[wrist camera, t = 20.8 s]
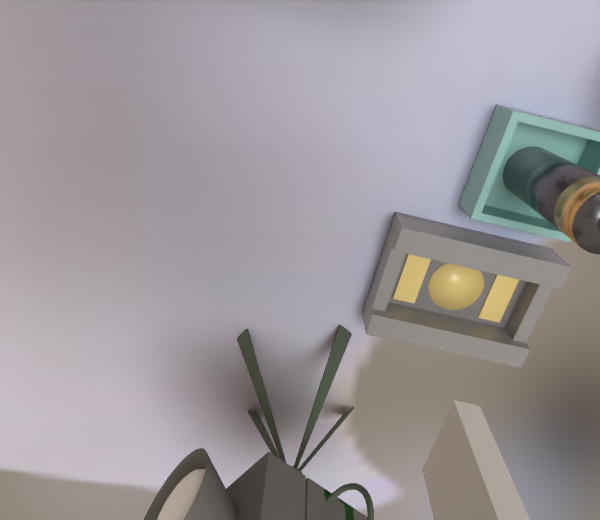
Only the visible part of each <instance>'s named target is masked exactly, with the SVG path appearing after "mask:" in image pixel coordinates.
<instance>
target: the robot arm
mask: <svg viewBox="0 0 600 520" xmlns="http://www.w3.org/2000/svg"><path fill="white" fill-rule="evenodd" d="M422 471H423V474H424V478H425V483H426V487H427V491H428V495H429V500H430V504H431V508H432V512H433V516H434V520H529V518H528V515H527V513H526V511H525V508H524V506H523V504H522V502H521V500H520V497H519V495H518V492H517V490H516V488H515V486H514V484H513V481H512V479H511V477H510V474H509V472H508V470H507V467H506V465H505V464H504V461H503V458H502V457H501V454H500V452H499V449H498V447H497V445H496V442H495V440H494V438H493V435H492V433H491V431H490V429H489V427H488V424H487V422H486V420H485V417H484V415H483V413H482V410H481V408H480V406H478V405H473V404H468V403H463V402H459V401H453V404H452V406H451V408H450V410H449V412H448V414H447V416H446V419H445V421H444V423H443V425H442V428H441V430H440V432H439V434H438V436H437V438H436V441H435V443H434V445H433V447H432V449H431V452H430V454H429V456H428V458H427V460H426V462H425V465H424V467H423V469H422Z"/></svg>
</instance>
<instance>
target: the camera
mask: <svg viewBox="0 0 600 520" xmlns="http://www.w3.org/2000/svg"><path fill="white" fill-rule="evenodd" d="M351 335H352V334H351V333H350V332H349V331H347V330H346V329H345V328H344V327H342V326H341V325H339V327H338V330H337V334H336V337H335V340H334V343H333V346H332V349H331V352H330V355H329V358H328V362H327V365H326V368H325V371H324V374H323V377H322V380H321V383H320V387H319V390H318V393H317V396H316V399H315V402H314V405H313V408H312V412H311V415H310V418H309V421H308V424H307V427H306V430H305V433H304V436H303V440H302V443H301V446H300V449H299V452H298V455H297V458H296V461H295V465H294V466H290V465H288V464H287V463H286V460H285V457H284V453H283V450H282V447H281V443H280V440H279V436H278V433H277V429H276V426H275V422H274V419H273V415H272V412H271V408H270V405H269V401H268V398H267V394H266V391H265V387H264V384H263V380H262V377H261V373H260V370H259V366H258V363H257V359H256V356H255V352H254V349H253V346H252V342H251V339H250V335H249V332H248V329H246V330H245V331H244V332H243V333H242V334H241V335H240V336H239V337H238V338H237V340H238V343H239V346H240V349H241V351H242V354H243V357H244V360H245V363H246V365H247V368H248V371H249V374H250V376H251V379H252V382H253V385H254V387H255V390H256V393H257V396H258V398H259V401H260V404H261V407H262V409H263V412H264V415H265V418H266V420H267V423H268V426H269V429H270V432H271V434H272V437H273V440H274V443H275V445H276V448H277V451H278V453H277V451H276V449H275V447H274V445H273V443H272V441H271V439H270V437H269V435H268V433H267V431H266V429H265V427H264V425H263V423H262V421H261V419H260V417H259V416H257V415H256V414H254V413H253V412H251V411H250V410H249V411H248V413H249V415H250V417H251V418H252V420H253V422H254V423H255V425H256V427H257V429H258V430H259V432H260V434H261V435H262V437H263V439H264V441H265V442H266V444H267V446H268V447H269V449H270V451H271V453H270V452H268V453H267V454H266V455H264V456H263V457H262V458H261V459H260V460H259V461H258V462H256V463H255V464H254V465H253V466H252V467H251V468H250V469H248V470H247V471H246V472H245V473H244V474H243V475H241V476H240V477H239V478H238V479H237V480H236V481H235V482H233V483H232V484H231V485H230V486H229V487H228V488H227V489H225V487H224V485H223V483H222V481H221V479H220V477H219V475H218V473H217V471H216V469H215V468H214V466H213V464H212V462H211V460H210V458H209V456H208V454H207V452H206V451H205V450H204V449H202V448H200V449H197V450H195V451H193V452H192V453H190V454H189V455H188V456H187V457H185V458H184V459H183V461H182V462H181V463H180V464H179V465H178V466H177V467H176V468H175V470H174V471H173V472H172V473H171V475H170V476H169V477H168V479H167V480H166V481H165V483H164V484H163V486H162V488H161V489H160V491H159V492H158V494H157V496H156V497H155V499H154V501H153V502H152V504H151V506H150V508H149V510H148V512H147V514H146V516H145V518H144V520H374V509H373V503H372V500H371V497H370V495H369V493H368V491H367V490H366V489H365V488H364V487H363V486H361V485H359V484H356V483H350V484H346V485H343V486H341V487H340V488H338V489H337V490H336V491H334V492H333V493H330V492H329V491H327V490H326V489H324V488H323V487H321V486H320V485H318V484H317V483H315V482H314V481H312V480H311V479H309V478H307V479H305V475H303V474H302V472H301V470H302V469H303V468H304V467H305V466H306V464H307V463H308V462H309V461H310V460H311V459H312V457H313V456H314V455H315V454H316V453H317V451H318V450H319V449H320V448H321V447H322V446H323V444H324V443H325V442H326V441H327V440H328V439H329V437H330V436H331V435H332V434H333V433H334V431H335V430H336V429H337V428H338V427H339V426H340V424H341V423H342V422H343V421H344V420H345V418H346V417H347V416H348V415H349V414H350V413H351V411H352V410H353V409H354V407H352V408H351V409H349V410H348V411H347V412H346V413H345V414H343V416H342V417H341V418H340V419H339V420H338V422H337V423H336V424H335V425H334V426H333V428H332V429H331V430H330V431H329V433H328V434H327V435H326V436H325V437H324V439H323V440H322V441H321V442H320V443H319V445H318V446H317V447H316V448H315V450H314V451H313V452H312V453H311V454H310V456H309V457H308V458H307V459H306V460H305V462H304V463H303V464H302V465H301V467H300V468H299V469H298V468H297V467H298V465H299V462H300V460H301V457H302V455H303V453H304V450H305V448H306V445H307V443H308V440H309V438H310V435H311V433H312V430H313V428H314V425H315V423H316V421H317V418H318V416H319V413H320V411H321V408H322V406H323V403H324V401H325V398H326V396H327V394H328V391H329V389H330V386H331V384H332V381H333V379H334V376H335V374H336V371H337V369H338V367H339V364H340V362H341V359H342V357H343V354H344V352H345V349H346V347H347V344H348V342H349V339H350V337H351ZM278 454H279V455H278ZM279 456H280V457H279ZM352 489H354V490H358V491H359V492H361V493H362V495H363V496H364V498H365V500H366V504H367V511H368V517H366V516H365V515H363V514H362V513H360V512H359V511H357V510H356V509H354V508H353V507H351V506H350V505H348V504H347V503H345V502H344V501H342V500H341V499H339V498H338V497H337V496H339V495H340V494H341V493H343V492H345V491H347V490H352Z"/></svg>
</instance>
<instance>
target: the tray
mask: <svg viewBox="0 0 600 520" xmlns="http://www.w3.org/2000/svg"><path fill="white" fill-rule="evenodd" d="M530 146H537V147H541V148H543V149H545V150H548V151H550V152H552V153H554V154H556V155H558V156H560V157H562V158H564V159H566V160H568V161H570V162H573V163H575V164H577V165H579V166H581V167H583V168H585V169H587V170H589V171H591V172H593V173H596V174H598V175H600V131H598V130H595V129H591V128H587V127H583V126H579V125H575V124H571V123H567V122H563V121H559V120H555V119H551V118H547V117H543V116H539V115H535V114H531V113H527V112H523V111H519V110H515V109H511V108H507V107H503V106H499V105H496V108H495V110H494V113H493V116H492V118H491V121H490V123H489V126H488V129H487V131H486V134H485V136H484V139H483V142H482V144H481V147H480V150H479V152H478V155H477V157H476V160H475V163H474V165H473V168H472V171H471V173H470V176H469V178H468V181H467V184H466V186H465V189H464V191H463V194H462V197H461V199H460V202H459V205H460V207H461V208H462V209H463V210H464V211H465V212H466V214H467V215H468V216H469V217H470V218H471V219H475V220H479V221H483V222H487V223H492V224H496V225H500V226H504V227H509V228H513V229H517V230H521V231H526V232H530V233H534V234H538V235H542V236H547V237H551V238H555V239H559V240H564V241H568V242H571V241H572V240H571V239H570V238H568V237H567V236H566V235H565V234H563V233H562V232H561V231H560V230H559V229H558V228H556V227H555V226H554V225H552V224H551V223H550V222H549V221H547V220H546V219H545V218H544V217H542V216H541V215H540V214H538V213H537V212H536V211H535V210H533V209H532V208H531V207H530V206H528V205H527V204H526V203H524V202H523V201H522V200H521V199H519V198H518V197H517V196H516V195H514V194H513V193H512V192H511V191H509V190H508V189H507V187H506V186H505V184H504V181H503V170H504V166H505V164H506V162H507V161H508V159H509V158H510V157H511V156H512V155H513V154H514V153H515V152H517V151H518V150H520V149H522V148H525V147H530Z"/></svg>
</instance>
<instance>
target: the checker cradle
mask: <svg viewBox="0 0 600 520" xmlns="http://www.w3.org/2000/svg"><path fill="white" fill-rule="evenodd" d="M571 269H572V267H571V266H570V265H569V264H568V263H567V262H566V261H564V260H563V259H562V258H561V257H560V256H559V255H558V254H557V253H555V252H554V251H553V250H552V249H550V248H546V247H542V246H537V245H533V244H529V243H525V242H520V241H516V240H512V239H508V238H503V237H499V236H495V235H491V234H486V233H482V232H478V231H473V230H469V229H465V228H461V227H456V226H452V225H448V224H444V223H439V222H435V221H431V220H427V219H422V218H418V217H414V216H410V215H405V214H401V213H397V212H395V214H394V218H393V221H392V224H391V227H390V230H389V233H388V236H387V239H386V242H385V245H384V248H383V251H382V254H381V257H380V260H379V263H378V266H377V269H376V272H375V275H374V279H373V282H372V285H371V288H370V291H369V294H368V297H367V300H366V303H365V306H364V309H363V318H364V324H365V331H366V334H367V335H372V336H376V337H381V338H385V339H390V340H395V341H399V342H404V343H408V344H413V345H417V346H422V347H427V348H431V349H436V350H440V351H445V352H449V353H455V354H459V355H463V356H468V357H472V358H477V359H481V360H486V361H491V362H495V363H500V364H504V365H509V366H514V367H518V368H521V367H522V365H523V363H524V361H525V359H526V357H527V355H528V353H529V351H530V348H529V347H528V345H527V344H526V342H527V340H528V337H529V336H530V333H531V332H532V330H533V328H534V325H535V324H536V322H537V320H538V317H539V316H540V314H541V311H542V310H543V308H544V306H545V304H546V302H547V300H548V298H549V296H550V294H551V292H552V290H553V288H558V289H561V288H562V286H563V284H564V282H565V281H566V279H567V277H568V275H569V273H570V271H571Z"/></svg>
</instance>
